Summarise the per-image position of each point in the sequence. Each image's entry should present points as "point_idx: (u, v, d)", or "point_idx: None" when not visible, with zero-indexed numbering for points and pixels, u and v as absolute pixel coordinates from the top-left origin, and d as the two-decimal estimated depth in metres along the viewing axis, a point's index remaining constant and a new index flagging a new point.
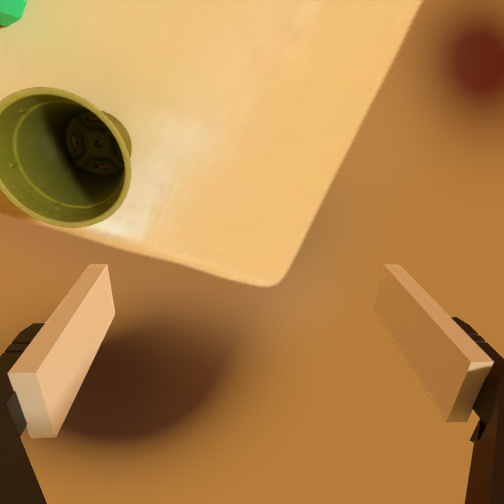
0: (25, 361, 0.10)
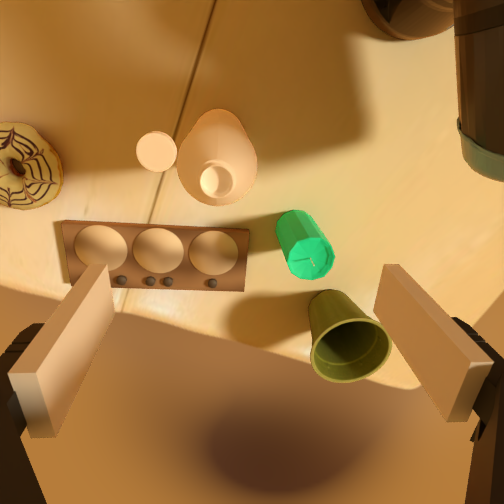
0: (25, 361, 0.10)
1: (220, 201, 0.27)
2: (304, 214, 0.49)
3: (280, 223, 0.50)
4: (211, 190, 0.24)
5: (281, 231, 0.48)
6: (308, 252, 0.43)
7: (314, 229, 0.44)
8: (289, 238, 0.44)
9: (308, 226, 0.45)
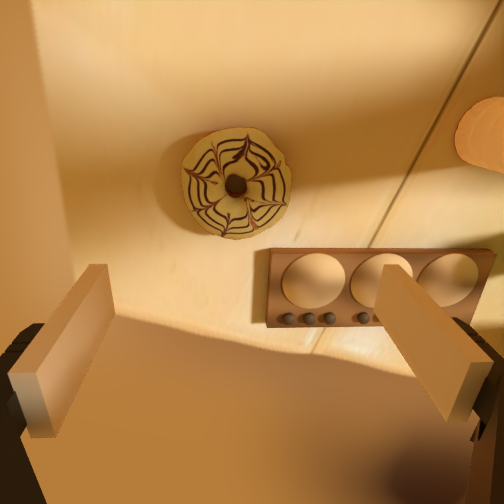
0: (25, 361, 0.10)
1: None
2: None
3: None
4: None
5: None
6: None
7: None
8: None
9: None
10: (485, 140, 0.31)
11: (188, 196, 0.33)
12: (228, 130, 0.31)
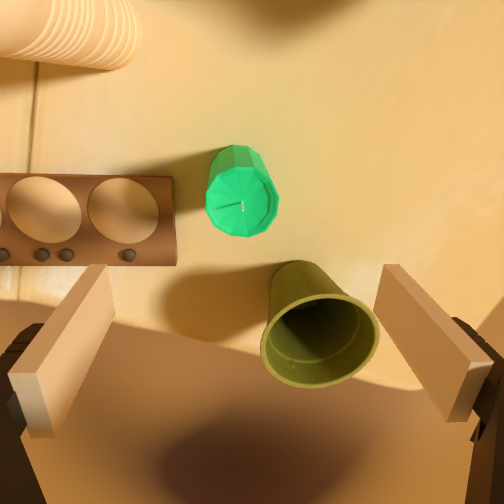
0: (25, 361, 0.10)
1: None
2: (246, 148, 0.34)
3: (212, 164, 0.35)
4: None
5: (210, 172, 0.33)
6: (237, 193, 0.28)
7: (250, 160, 0.29)
8: (212, 175, 0.29)
9: (242, 157, 0.30)
10: None
11: None
12: None
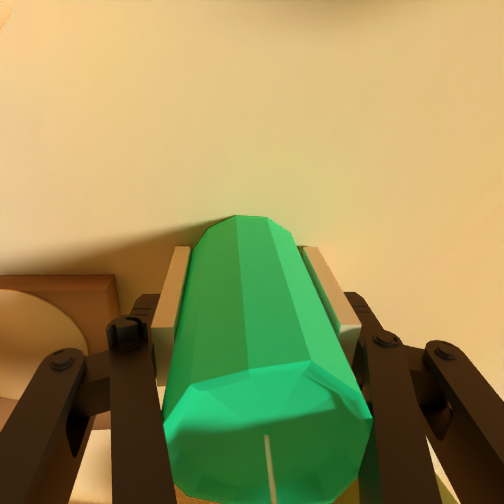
0: (160, 319, 0.12)
1: None
2: (264, 229, 0.16)
3: (193, 260, 0.16)
4: None
5: (185, 290, 0.14)
6: (253, 419, 0.09)
7: (285, 299, 0.11)
8: (184, 339, 0.11)
9: (263, 282, 0.12)
10: None
11: None
12: None
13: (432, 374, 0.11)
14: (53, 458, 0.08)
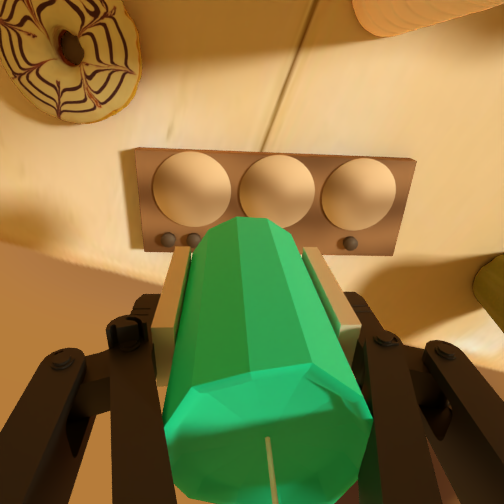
0: (160, 319, 0.12)
1: None
2: (265, 230, 0.16)
3: (194, 261, 0.16)
4: None
5: (186, 292, 0.14)
6: (254, 421, 0.09)
7: (286, 300, 0.11)
8: (185, 341, 0.11)
9: (263, 283, 0.12)
10: None
11: (2, 56, 0.26)
12: None
13: (432, 375, 0.11)
14: (53, 458, 0.08)
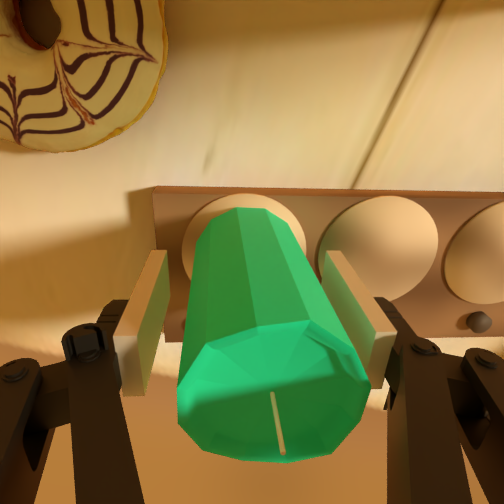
0: (124, 327, 0.12)
1: None
2: (264, 218, 0.17)
3: (198, 248, 0.18)
4: None
5: (192, 275, 0.16)
6: (260, 376, 0.11)
7: (285, 274, 0.12)
8: (195, 312, 0.12)
9: (265, 261, 0.13)
10: None
11: None
12: None
13: (473, 384, 0.11)
14: (10, 473, 0.08)
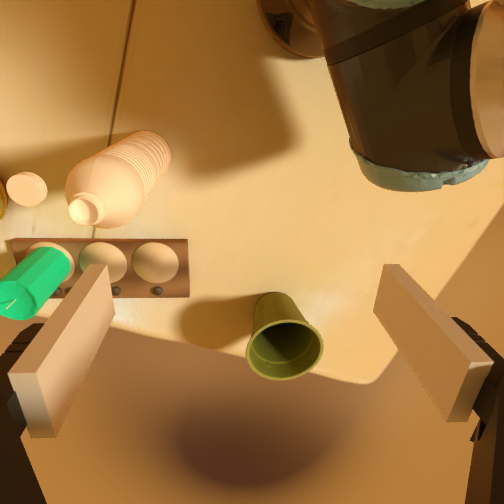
0: (25, 361, 0.10)
1: (104, 225, 0.30)
2: (45, 251, 0.50)
3: None
4: (84, 218, 0.28)
5: None
6: (10, 295, 0.44)
7: (25, 270, 0.45)
8: None
9: (24, 266, 0.46)
10: None
11: None
12: None
13: None
14: None
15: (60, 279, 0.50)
